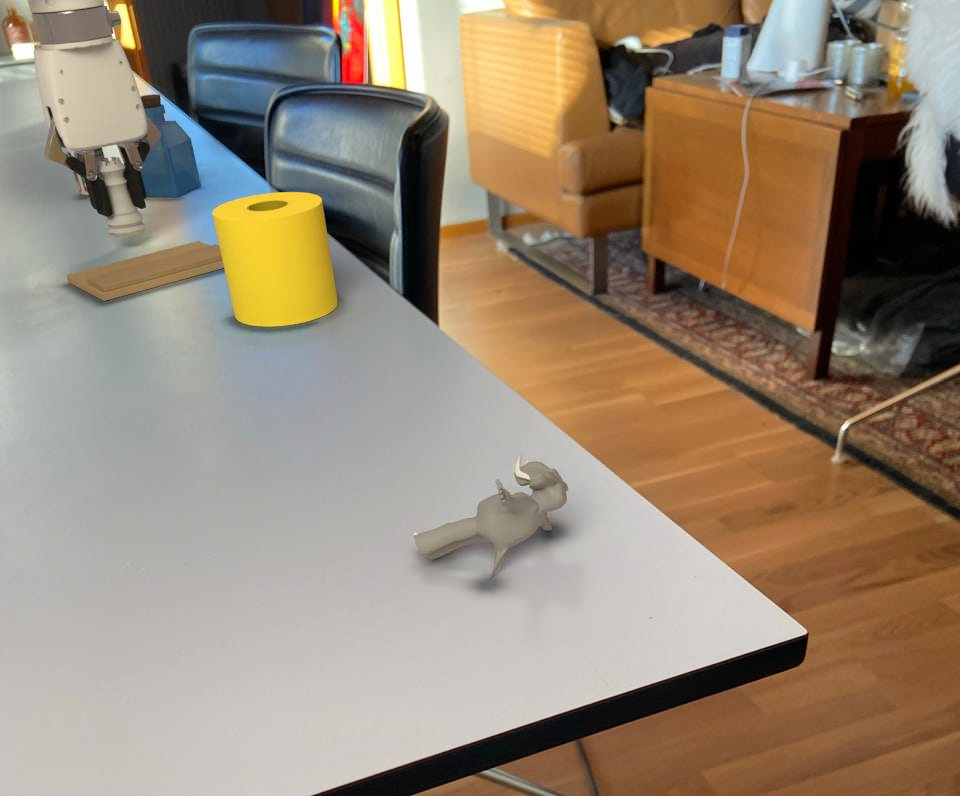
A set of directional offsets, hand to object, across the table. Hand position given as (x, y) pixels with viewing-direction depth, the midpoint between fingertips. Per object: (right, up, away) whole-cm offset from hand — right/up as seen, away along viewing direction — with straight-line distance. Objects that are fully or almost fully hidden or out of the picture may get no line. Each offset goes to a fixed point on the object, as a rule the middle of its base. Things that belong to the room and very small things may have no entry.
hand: (121, 209), depth 119 cm
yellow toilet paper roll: (+23, -18, -20) cm, 36 cm away
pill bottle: (-14, +14, +28) cm, 35 cm away
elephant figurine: (+43, -46, -60) cm, 87 cm away
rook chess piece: (0, -2, +2) cm, 3 cm away
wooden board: (+6, -10, -7) cm, 14 cm away
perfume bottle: (-2, +13, +25) cm, 28 cm away
